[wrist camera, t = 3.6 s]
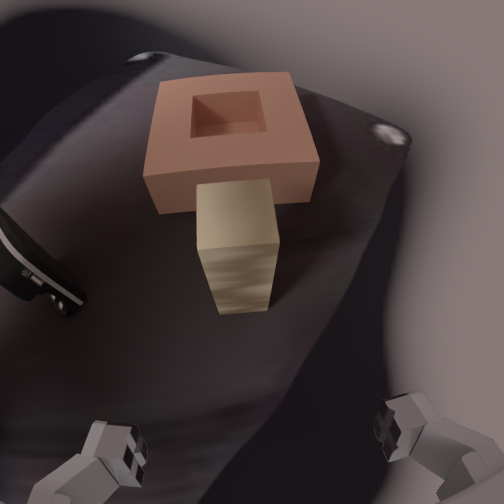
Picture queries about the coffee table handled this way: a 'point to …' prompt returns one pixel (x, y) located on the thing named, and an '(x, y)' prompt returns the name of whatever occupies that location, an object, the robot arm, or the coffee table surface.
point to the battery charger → (34, 269)
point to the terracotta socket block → (228, 138)
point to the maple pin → (238, 243)
